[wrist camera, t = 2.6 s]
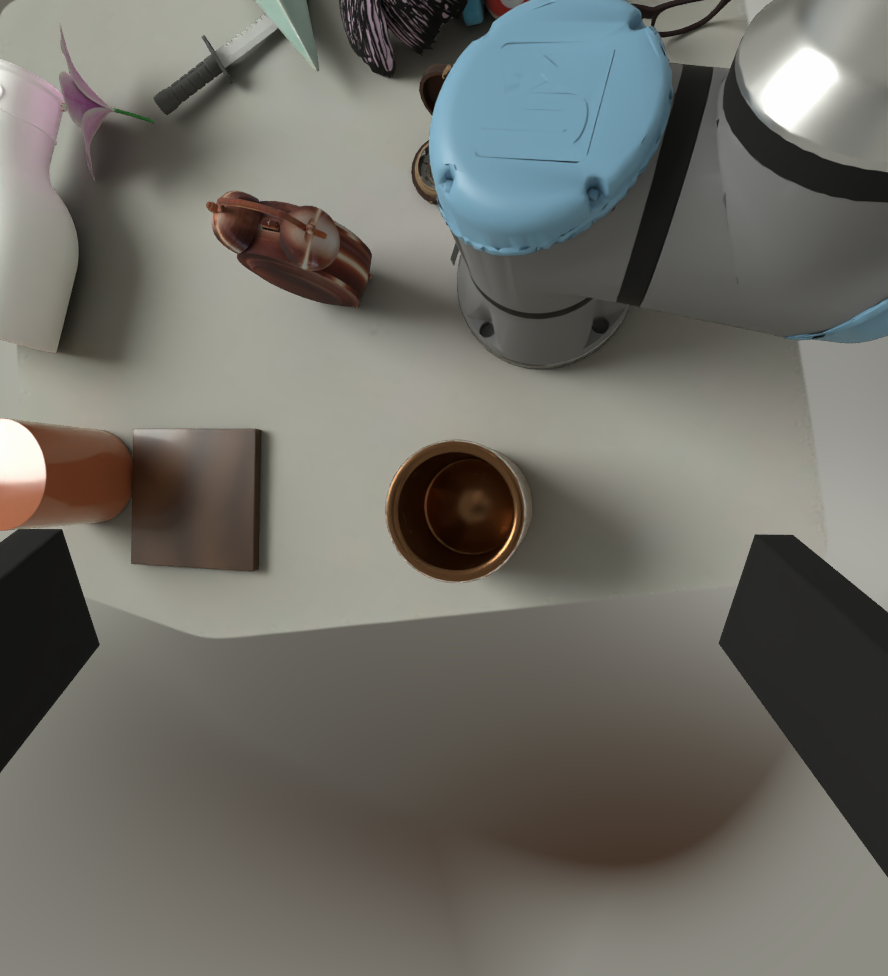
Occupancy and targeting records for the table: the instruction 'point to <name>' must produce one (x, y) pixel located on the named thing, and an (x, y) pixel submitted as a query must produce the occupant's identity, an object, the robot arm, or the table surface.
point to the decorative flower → (394, 27)
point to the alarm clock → (293, 247)
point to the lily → (84, 103)
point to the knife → (213, 64)
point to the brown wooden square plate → (196, 498)
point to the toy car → (496, 3)
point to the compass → (421, 162)
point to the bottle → (32, 214)
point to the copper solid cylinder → (60, 475)
